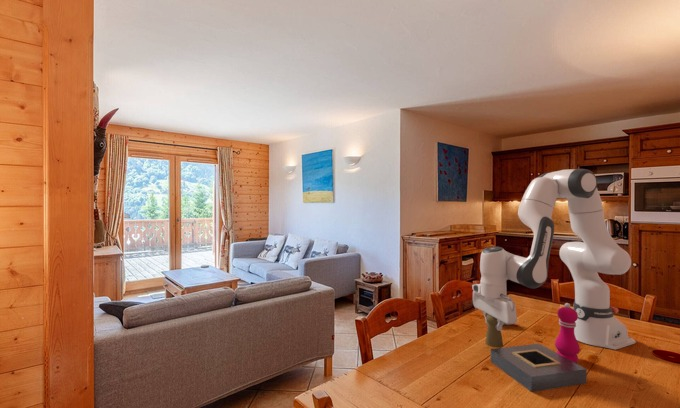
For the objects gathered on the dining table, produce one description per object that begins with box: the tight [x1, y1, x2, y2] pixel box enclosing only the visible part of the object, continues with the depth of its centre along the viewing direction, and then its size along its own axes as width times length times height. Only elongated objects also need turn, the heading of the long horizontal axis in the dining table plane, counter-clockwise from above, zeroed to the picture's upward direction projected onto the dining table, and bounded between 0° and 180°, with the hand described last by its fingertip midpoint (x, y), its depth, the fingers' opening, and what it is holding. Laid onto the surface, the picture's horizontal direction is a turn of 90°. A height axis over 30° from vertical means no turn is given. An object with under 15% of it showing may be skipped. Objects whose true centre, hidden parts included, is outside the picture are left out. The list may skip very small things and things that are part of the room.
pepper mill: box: [554, 302, 581, 364], centre depth 114 cm, size 7×7×20 cm
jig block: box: [490, 343, 588, 393], centre depth 106 cm, size 20×18×5 cm
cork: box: [485, 314, 504, 348], centre depth 121 cm, size 6×6×11 cm
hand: (493, 327), depth 121 cm, fingers closed on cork, 4 cm apart
